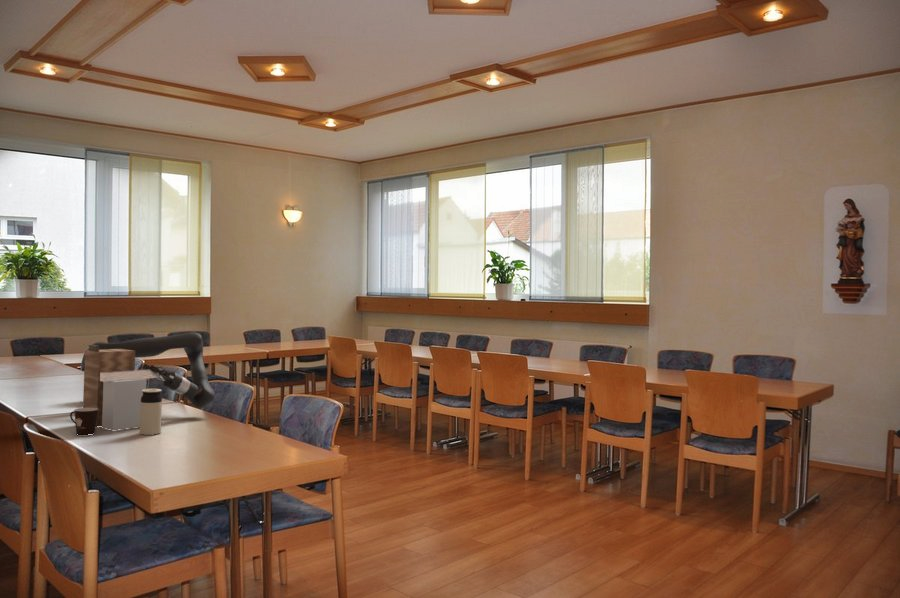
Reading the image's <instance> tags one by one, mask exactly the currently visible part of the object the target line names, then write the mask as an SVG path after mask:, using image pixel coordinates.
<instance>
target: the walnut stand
mask: <svg viewBox="0 0 900 598" xmlns="http://www.w3.org/2000/svg"><path fill="white" fill-rule="evenodd" d="M88 349H89V350H88ZM88 349H85V350H84V368H83V369H84V371H83V395H82V396H83V397H82V399H83V400H82V401H83V402H82V408H98V415H97V421H96V427H97V426H102V410H103V381H100V373H101V372H116V371H131V370H136V358H135V351H134V350H126V349H103V350H99V346H98V345H92V344H88Z"/></svg>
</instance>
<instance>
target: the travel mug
mask: <svg viewBox="0 0 900 598" xmlns="http://www.w3.org/2000/svg"><path fill="white" fill-rule="evenodd" d="M142 392H143V395H142V397H141V410H140V428H139V434H140V435H142V434H145V435H144V436H153V435H152V434H156V435H159V434H160V433H162V410H163V409H162V407H163V406H162V405H163V404H162V403H163V397H162V395H161V393H162V389H160V388H146V389H144V390H142ZM158 433H159V434H158ZM150 434H151V435H150Z"/></svg>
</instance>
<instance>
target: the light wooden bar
mask: <svg viewBox="0 0 900 598" xmlns="http://www.w3.org/2000/svg"><path fill="white" fill-rule="evenodd" d="M134 379H158V374H156V373H155V372H153V371H151V370H149V369H147V370H145V369H135V370H131V371H116V372H101V373H100V381H103V382H108V381H121V380H134Z"/></svg>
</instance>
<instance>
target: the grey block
mask: <svg viewBox="0 0 900 598" xmlns="http://www.w3.org/2000/svg"><path fill="white" fill-rule="evenodd" d="M147 379H148V378H147ZM147 379H134V380H121V381H108V382H103V410H102V427H103V428H107V429H111V430H118V429H126V428H134V427H140V410H141V397H142V395H143V392H142V390H144V389H147V381H148V380H147ZM102 427H101V428H102ZM134 429H135V428H134ZM126 430H127V429H126Z"/></svg>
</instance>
